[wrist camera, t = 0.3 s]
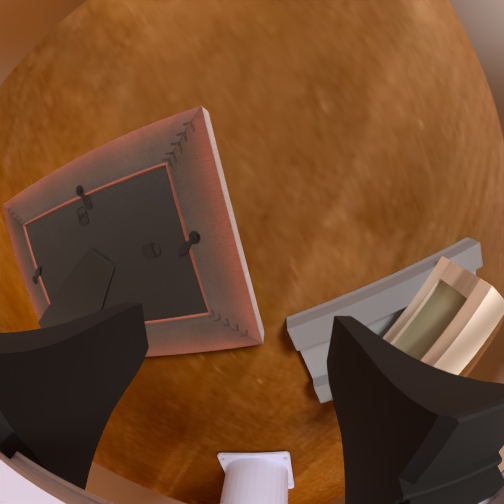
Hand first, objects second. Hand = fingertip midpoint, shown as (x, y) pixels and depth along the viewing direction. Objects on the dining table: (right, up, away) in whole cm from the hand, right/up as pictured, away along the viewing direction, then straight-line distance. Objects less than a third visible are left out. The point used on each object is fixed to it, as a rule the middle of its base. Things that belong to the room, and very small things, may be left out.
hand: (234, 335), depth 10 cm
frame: (+12, -3, +8) cm, 15 cm away
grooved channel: (+12, -2, +10) cm, 16 cm away
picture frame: (-11, +3, +12) cm, 16 cm away
